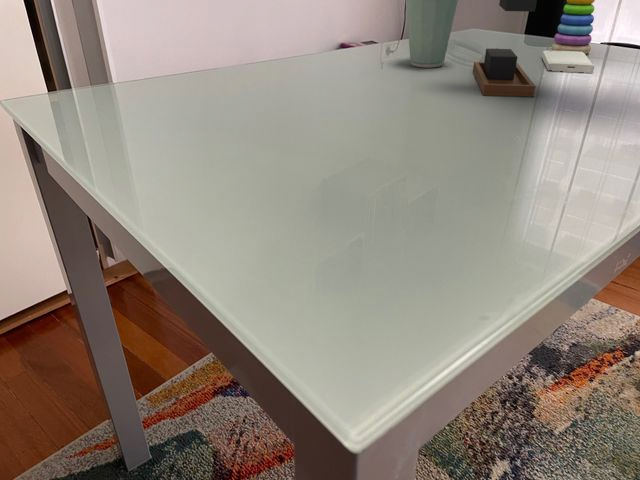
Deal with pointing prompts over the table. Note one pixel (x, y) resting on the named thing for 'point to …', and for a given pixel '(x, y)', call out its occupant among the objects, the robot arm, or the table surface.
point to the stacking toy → (575, 27)
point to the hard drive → (567, 61)
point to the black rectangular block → (500, 64)
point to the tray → (504, 83)
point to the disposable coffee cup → (429, 30)
